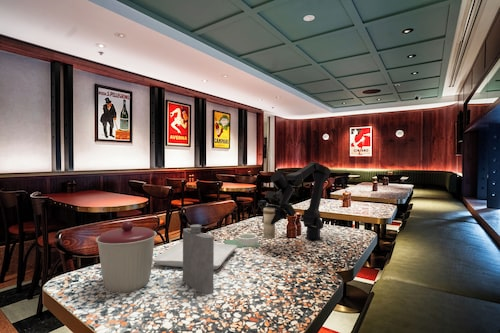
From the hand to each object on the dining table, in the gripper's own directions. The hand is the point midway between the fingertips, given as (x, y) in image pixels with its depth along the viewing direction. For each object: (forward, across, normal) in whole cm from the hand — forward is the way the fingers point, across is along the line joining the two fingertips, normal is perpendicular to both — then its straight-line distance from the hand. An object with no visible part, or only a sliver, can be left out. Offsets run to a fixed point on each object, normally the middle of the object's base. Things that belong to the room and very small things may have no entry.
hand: (267, 223), depth 122 cm
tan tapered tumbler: (+4, 0, +6) cm, 7 cm away
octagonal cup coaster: (+9, -19, +11) cm, 23 cm away
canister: (+50, -8, -30) cm, 59 cm away
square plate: (+28, -14, -9) cm, 33 cm away
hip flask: (+38, +7, -19) cm, 43 cm away
